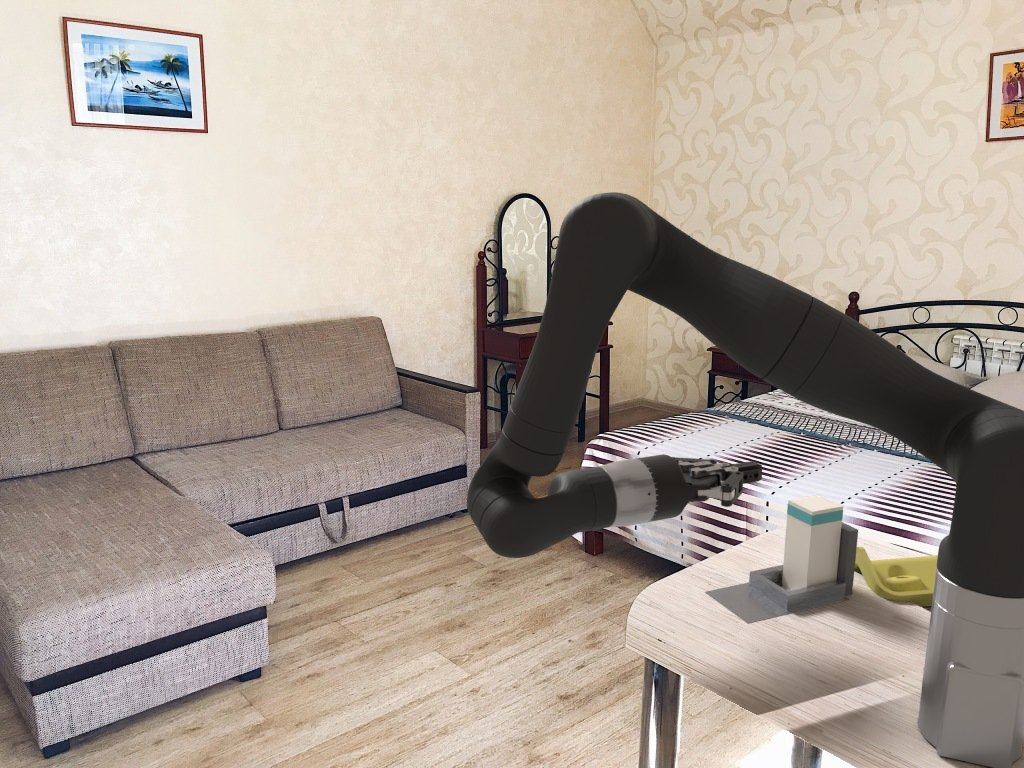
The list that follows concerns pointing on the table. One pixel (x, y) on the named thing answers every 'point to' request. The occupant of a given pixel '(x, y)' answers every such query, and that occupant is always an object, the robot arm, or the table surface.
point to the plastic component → (899, 577)
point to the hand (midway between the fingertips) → (758, 470)
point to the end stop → (847, 556)
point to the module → (811, 542)
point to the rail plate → (775, 596)
